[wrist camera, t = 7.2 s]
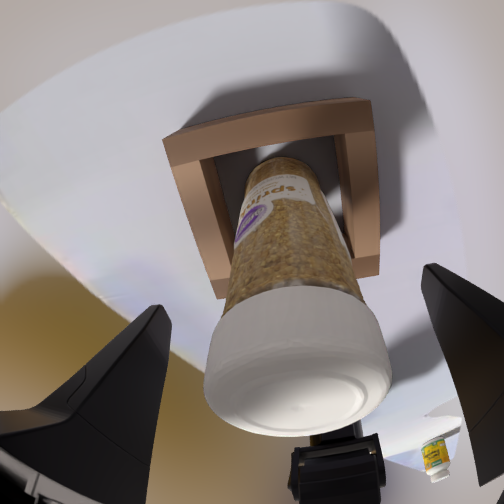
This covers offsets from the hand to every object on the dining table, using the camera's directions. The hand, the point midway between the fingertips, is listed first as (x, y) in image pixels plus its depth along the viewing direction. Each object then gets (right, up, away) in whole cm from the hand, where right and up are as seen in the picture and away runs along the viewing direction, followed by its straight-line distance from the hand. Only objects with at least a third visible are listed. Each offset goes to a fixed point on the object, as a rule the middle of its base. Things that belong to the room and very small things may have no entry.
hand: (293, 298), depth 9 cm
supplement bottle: (+36, -38, +33) cm, 62 cm away
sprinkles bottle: (0, +5, +8) cm, 10 cm away
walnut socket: (0, +5, +8) cm, 10 cm away
